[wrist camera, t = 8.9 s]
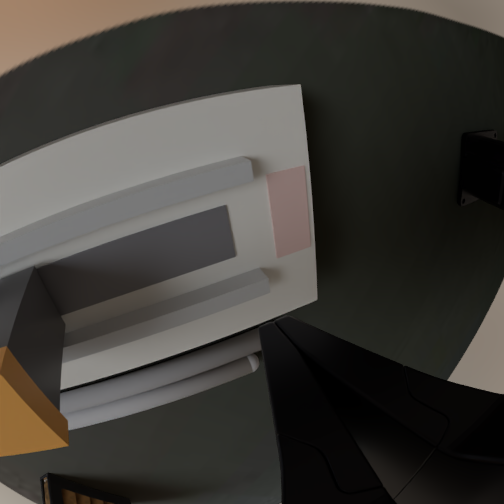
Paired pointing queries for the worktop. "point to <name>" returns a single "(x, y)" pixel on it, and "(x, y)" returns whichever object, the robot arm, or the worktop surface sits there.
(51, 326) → the breaker lever
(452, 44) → the worktop surface
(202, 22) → the worktop surface
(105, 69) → the worktop surface
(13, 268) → the breaker panel
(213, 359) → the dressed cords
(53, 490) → the ammunition clip
